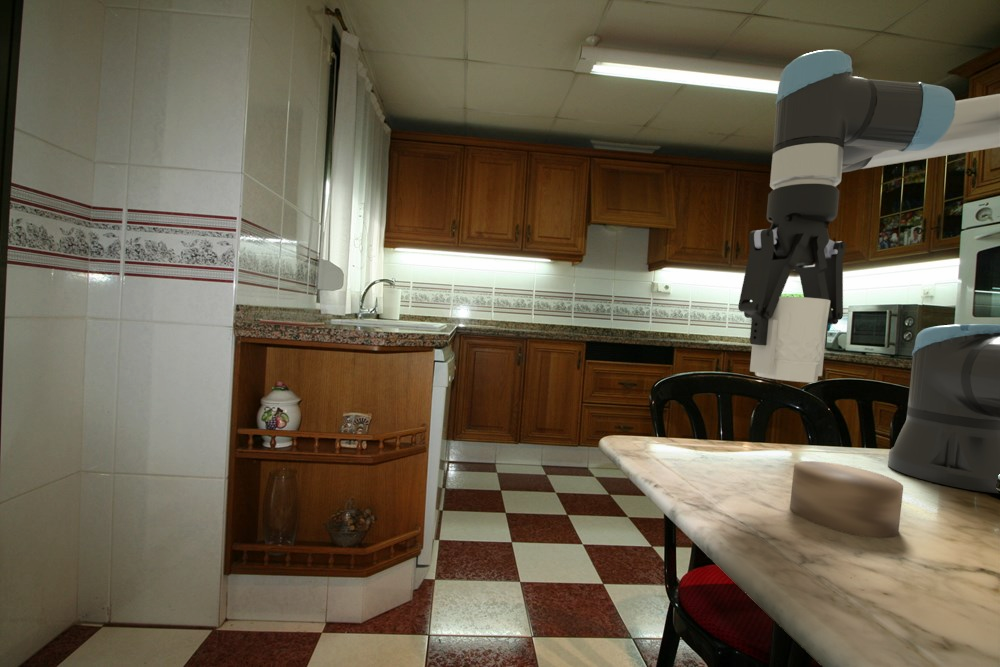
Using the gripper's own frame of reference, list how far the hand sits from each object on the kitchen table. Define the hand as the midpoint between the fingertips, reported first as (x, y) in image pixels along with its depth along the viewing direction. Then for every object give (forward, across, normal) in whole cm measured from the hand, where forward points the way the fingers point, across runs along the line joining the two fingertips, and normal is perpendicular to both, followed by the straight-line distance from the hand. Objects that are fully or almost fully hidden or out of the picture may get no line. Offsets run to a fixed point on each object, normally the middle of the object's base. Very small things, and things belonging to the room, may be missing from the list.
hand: (786, 373), depth 63 cm
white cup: (+1, 0, 0) cm, 1 cm away
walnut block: (+15, -1, +8) cm, 17 cm away
